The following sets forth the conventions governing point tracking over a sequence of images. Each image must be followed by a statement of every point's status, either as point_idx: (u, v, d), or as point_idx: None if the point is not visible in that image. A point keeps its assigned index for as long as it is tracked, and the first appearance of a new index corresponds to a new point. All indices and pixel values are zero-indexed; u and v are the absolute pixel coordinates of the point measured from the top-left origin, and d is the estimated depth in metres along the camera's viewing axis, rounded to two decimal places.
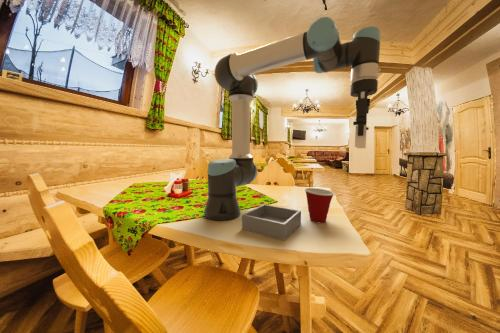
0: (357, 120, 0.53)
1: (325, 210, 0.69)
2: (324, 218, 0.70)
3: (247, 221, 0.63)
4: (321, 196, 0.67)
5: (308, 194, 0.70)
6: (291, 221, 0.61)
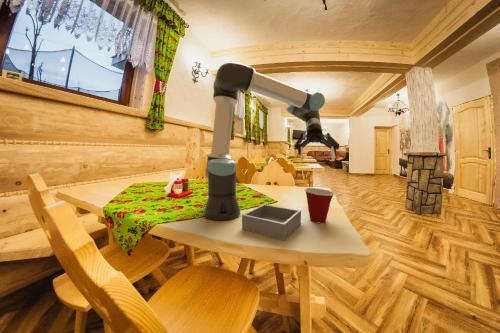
0: None
1: (325, 210, 0.69)
2: (324, 218, 0.70)
3: (247, 221, 0.63)
4: (321, 196, 0.67)
5: (308, 194, 0.70)
6: (291, 221, 0.61)
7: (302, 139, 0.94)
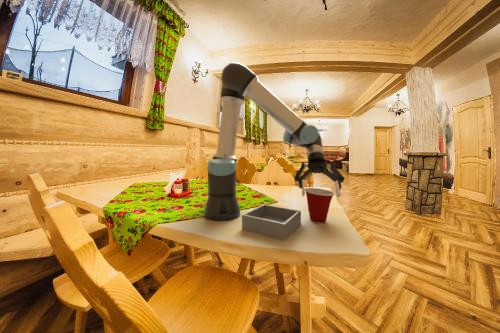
0: None
1: (325, 210, 0.69)
2: (324, 218, 0.70)
3: (247, 221, 0.63)
4: (321, 196, 0.67)
5: (308, 194, 0.70)
6: (291, 221, 0.61)
7: (303, 169, 0.86)
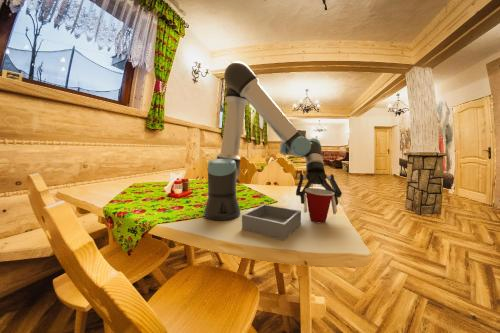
0: None
1: (325, 210, 0.69)
2: (324, 218, 0.70)
3: (247, 221, 0.63)
4: (321, 196, 0.67)
5: (308, 194, 0.70)
6: (291, 221, 0.61)
7: (302, 180, 0.80)
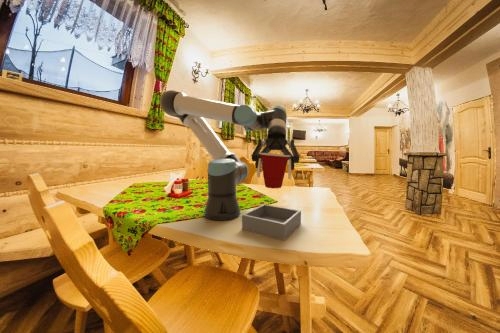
0: (298, 158, 0.65)
1: (279, 173, 0.62)
2: (278, 183, 0.63)
3: (247, 221, 0.63)
4: (274, 157, 0.60)
5: (261, 156, 0.63)
6: (291, 221, 0.61)
7: (261, 146, 0.73)
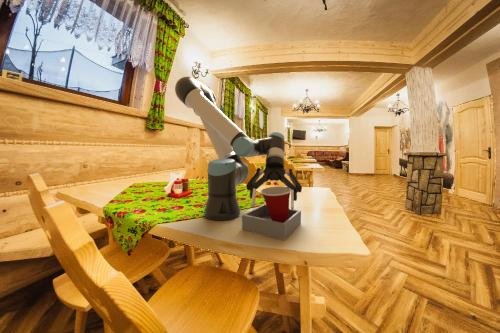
0: (301, 188, 0.66)
1: (283, 210, 0.64)
2: (284, 218, 0.65)
3: (247, 221, 0.63)
4: (275, 196, 0.62)
5: (263, 196, 0.65)
6: (291, 221, 0.61)
7: (259, 175, 0.74)
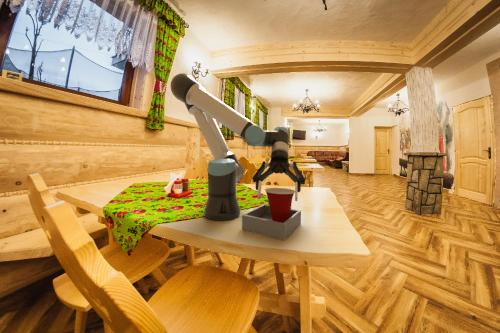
0: None
1: (285, 210, 0.64)
2: (285, 219, 0.65)
3: (247, 221, 0.63)
4: (279, 195, 0.63)
5: (267, 194, 0.66)
6: (291, 221, 0.61)
7: (264, 168, 0.78)
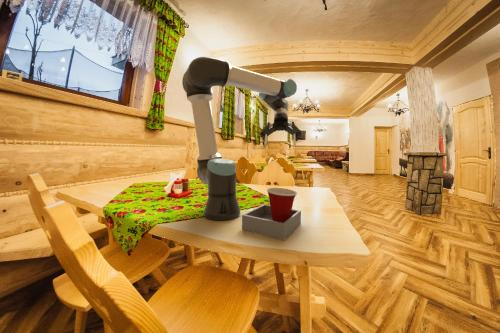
0: None
1: (287, 211, 0.64)
2: None
3: (247, 221, 0.63)
4: (282, 196, 0.62)
5: (269, 194, 0.65)
6: (291, 221, 0.61)
7: (269, 127, 0.98)
